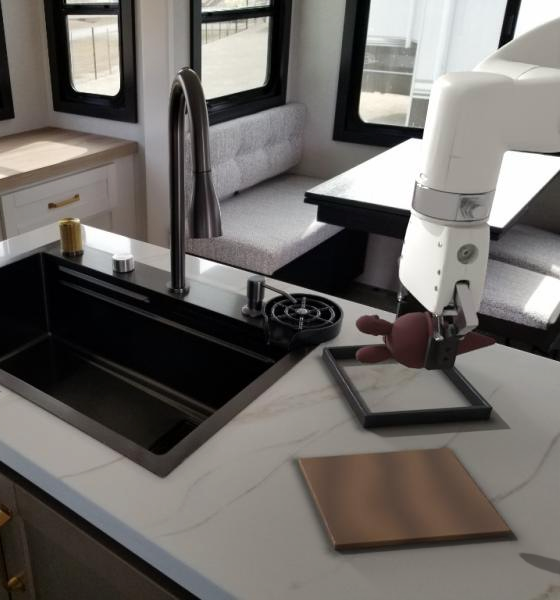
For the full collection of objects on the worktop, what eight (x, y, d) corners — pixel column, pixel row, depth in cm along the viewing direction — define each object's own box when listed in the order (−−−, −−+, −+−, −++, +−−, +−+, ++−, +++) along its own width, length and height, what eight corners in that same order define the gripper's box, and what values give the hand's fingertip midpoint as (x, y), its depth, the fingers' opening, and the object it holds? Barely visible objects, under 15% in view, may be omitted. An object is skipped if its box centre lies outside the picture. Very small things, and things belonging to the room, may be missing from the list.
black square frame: (429, 352, 106) (431, 340, 105) (489, 420, 89) (492, 407, 88) (321, 358, 104) (323, 347, 103) (363, 428, 88) (365, 415, 87)
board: (447, 452, 83) (448, 447, 83) (509, 535, 71) (510, 530, 71) (298, 463, 82) (298, 458, 82) (334, 549, 70) (335, 544, 69)
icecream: (487, 303, 74) (353, 303, 77) (507, 318, 67) (358, 318, 70) (484, 361, 75) (352, 358, 79) (503, 381, 68) (357, 378, 72)
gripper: (538, 229, 58) (494, 391, 66) (445, 175, 73) (419, 312, 81) (458, 232, 57) (424, 395, 65) (382, 178, 73) (362, 315, 81)
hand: (421, 348), depth 73 cm, fingers closed on icecream, 7 cm apart
